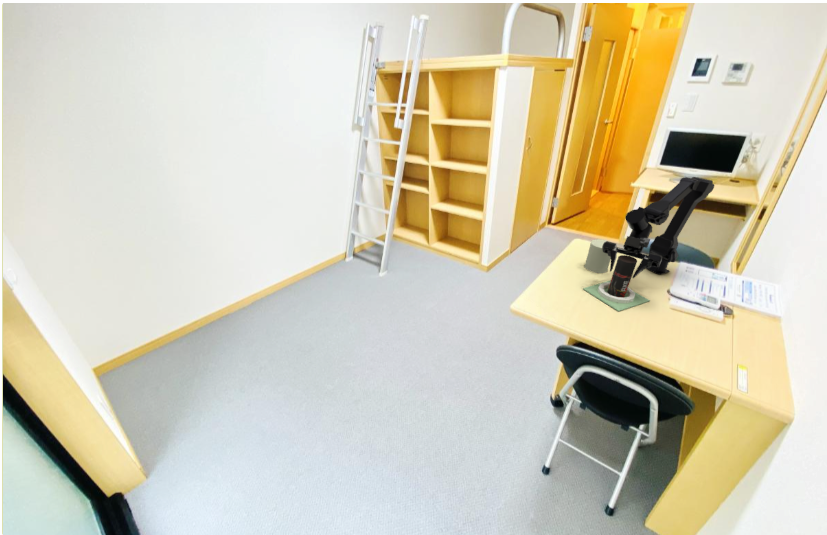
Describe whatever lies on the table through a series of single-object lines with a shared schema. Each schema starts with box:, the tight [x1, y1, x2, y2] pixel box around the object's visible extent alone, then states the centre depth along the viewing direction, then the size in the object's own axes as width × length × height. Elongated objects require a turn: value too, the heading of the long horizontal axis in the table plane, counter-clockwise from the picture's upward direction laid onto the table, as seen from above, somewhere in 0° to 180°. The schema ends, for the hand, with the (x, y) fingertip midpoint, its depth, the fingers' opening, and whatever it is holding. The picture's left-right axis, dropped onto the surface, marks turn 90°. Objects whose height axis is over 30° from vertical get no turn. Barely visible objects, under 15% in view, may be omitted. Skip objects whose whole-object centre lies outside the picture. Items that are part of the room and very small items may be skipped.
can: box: [583, 238, 611, 274], centre depth 146 cm, size 9×9×12 cm
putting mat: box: [582, 279, 651, 313], centre depth 130 cm, size 16×16×2 cm
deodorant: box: [607, 254, 638, 298], centre depth 126 cm, size 6×6×15 cm
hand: (621, 274), depth 124 cm, fingers open, 7 cm apart
